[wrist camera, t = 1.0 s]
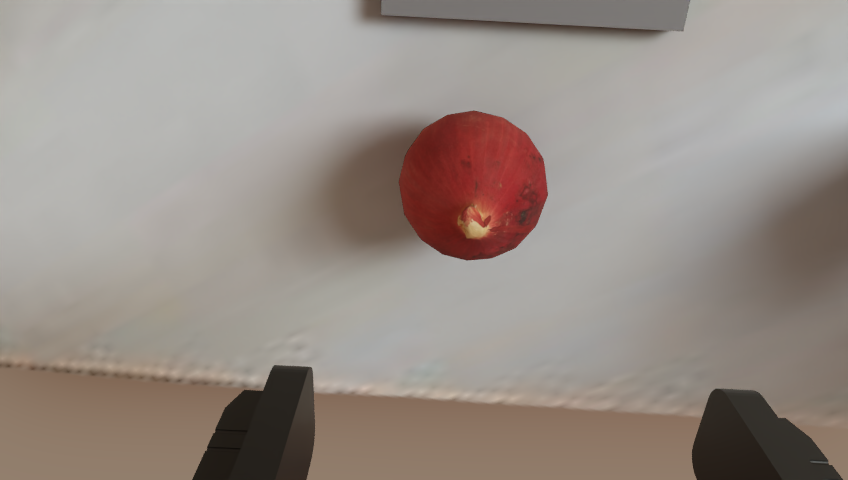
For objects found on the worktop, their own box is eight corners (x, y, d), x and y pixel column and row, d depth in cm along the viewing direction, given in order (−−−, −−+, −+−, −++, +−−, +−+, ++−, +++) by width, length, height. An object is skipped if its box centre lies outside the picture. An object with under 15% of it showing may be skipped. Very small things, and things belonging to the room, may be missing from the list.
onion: (549, 111, 26) (592, 171, 19) (511, 227, 29) (536, 319, 21) (420, 79, 26) (414, 129, 19) (392, 200, 28) (377, 285, 21)
